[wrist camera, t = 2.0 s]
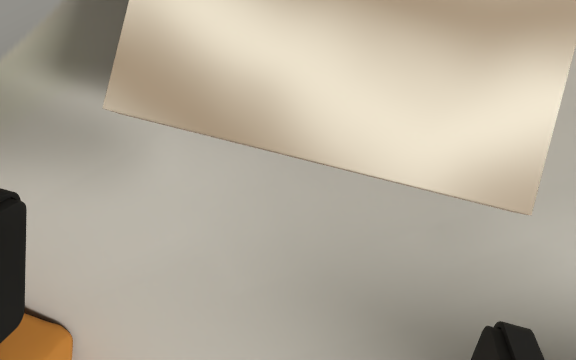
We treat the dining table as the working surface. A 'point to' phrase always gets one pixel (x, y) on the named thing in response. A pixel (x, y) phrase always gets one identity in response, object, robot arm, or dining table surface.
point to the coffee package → (37, 341)
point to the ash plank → (361, 84)
